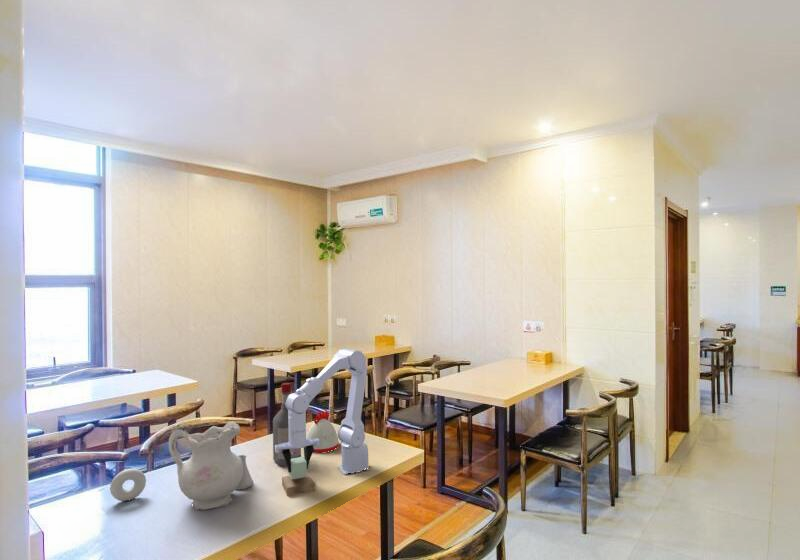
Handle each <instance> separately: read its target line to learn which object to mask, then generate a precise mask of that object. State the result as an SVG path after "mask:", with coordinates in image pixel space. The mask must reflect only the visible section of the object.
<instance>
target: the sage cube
mask: <svg viewBox="0 0 800 560" xmlns="http://www.w3.org/2000/svg"><path fill="white" fill-rule="evenodd" d="M307 470H308V469H307V462H306V460H305V459H304V456H301V457H298V458H292V459H291V472H290V473H289V472H288V476H290V477H291V479H297V478H302V477H307V472H308V471H307Z"/></svg>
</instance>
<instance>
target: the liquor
mask: <svg viewBox="0 0 800 560" xmlns="http://www.w3.org/2000/svg"><path fill="white" fill-rule="evenodd" d="M280 391H281V407H280V410H278V411H277V413H276V415H275V416H274V417H273V418H272V446H273V447H272V448H273V449H272V453H273V454H272V455H273V457H272V459H273V461H274V463H275V464H276V465H277V466H278V467H287V464H286V461H285V458H284V456H283V453H282V451H280V452H279V453H276V452H275V445H279V444H283V443H286V442H289V423H288V409H287V408H286V406H285V402H286V400H287V397H288V396H289V395H290V394H292V383H291V382H283V383H281V389H280ZM290 453H291V459H292V458H298V457H302V448H298V449H292V450H290Z"/></svg>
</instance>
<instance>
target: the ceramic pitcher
mask: <svg viewBox="0 0 800 560" xmlns="http://www.w3.org/2000/svg"><path fill="white" fill-rule="evenodd" d="M186 428H187V426H186V425H183V426H182V425H181V426H175V427H174V428H173V430H172V433H171V434H170V436H169V438H168V451H169V454H170V456H171V458H172V461H173V462H174V463H175V464H176V466H177V467H176V468H177V479H178V486H179V489H180V491H181V492H182V494H184V496H185V497H186V498H188V499H189V500H192V501H193V502H192V501H191V505H192V504H193V507H192V508H194V509H196V508H197V509H196V510H199V509H200V510H199V511H201V510H202V511H203V510H209V509H215V508H219V507H225V506H227V505H229V504H231V503H232V502H233V499H232V496H231V494H232V493H234V491H236V488H237V486H238V485H239V483H240V481H241V479H242V476H243V463H242V460H241V458H240V457H239V455H237V454H236V453H234V452H233V451H232V449H231V442H232V440H233V439H234V438H235V437H236V436H238V435H241V432H242V431H241V429H242V428H241V426H240V425H239V424H238V423H237V422H236V421H233V420H232V421H228V422H227V423H226V424H225V425H224V426H223V427H221V426H220V427H219V426H215V425H213V426H211V427H209V428H207V430H205V431H204V432H203V433H201V432H195V433H191V434H189V433H188V430H187V429H186ZM179 438H184V439H185V440H186V441H187V442H188V443H189V445H190V448H191V456H190V458H188V459H187V460H186V462H184V463H183V460H182V457H181V455H180V452H179V450H178V449H177V440H178V439H179Z"/></svg>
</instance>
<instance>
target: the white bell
mask: <svg viewBox="0 0 800 560" xmlns="http://www.w3.org/2000/svg"><path fill="white" fill-rule="evenodd" d="M330 413H331V412H328V410H326V409H324V410H322V411H318V414H317V415H315V418H312V420H313V423H312V424H311V425H310V426H309V428H308V429H307V432H306V439H317V438H318V439H319V446H313V448H314V452H313V454H323V453H322V452H326V453H329V452H328V451H331V450H333V451H335V450H334V449H335V448H337V447H338V448H339V446H338V445H339V438H338V433H337V431H336V429H335V426H334V425H333V423H331V421H329V417H330ZM338 448H337V449H338ZM331 452H332V451H331Z"/></svg>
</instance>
